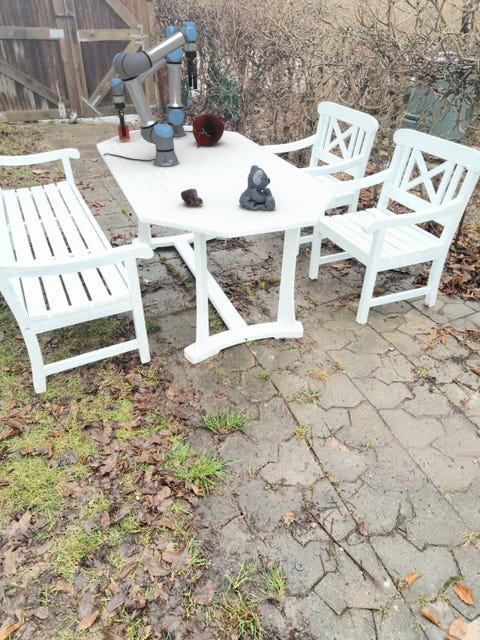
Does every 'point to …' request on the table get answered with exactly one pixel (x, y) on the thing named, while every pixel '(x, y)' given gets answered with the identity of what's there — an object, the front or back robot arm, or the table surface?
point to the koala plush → (257, 191)
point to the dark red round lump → (207, 129)
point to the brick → (121, 132)
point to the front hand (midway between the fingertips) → (192, 88)
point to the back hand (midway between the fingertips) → (124, 135)
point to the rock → (191, 197)
